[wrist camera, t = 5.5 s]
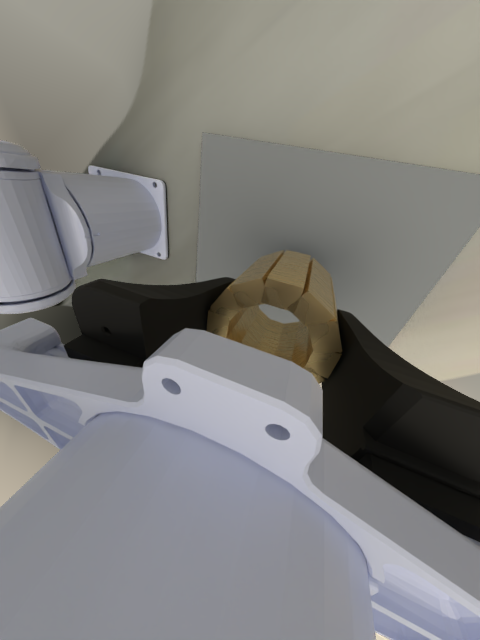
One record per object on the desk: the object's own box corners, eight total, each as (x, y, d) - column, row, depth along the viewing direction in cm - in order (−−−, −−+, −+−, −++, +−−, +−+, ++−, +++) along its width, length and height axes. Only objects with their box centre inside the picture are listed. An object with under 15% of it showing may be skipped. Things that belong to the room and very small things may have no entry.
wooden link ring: (236, 320, 15) (203, 366, 11) (250, 240, 12) (212, 262, 8) (313, 346, 14) (310, 408, 10) (351, 265, 11) (370, 306, 6)
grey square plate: (196, 310, 27) (169, 334, 23) (205, 133, 17) (159, 108, 13) (367, 369, 23) (379, 414, 18) (509, 180, 13) (619, 170, 8)
